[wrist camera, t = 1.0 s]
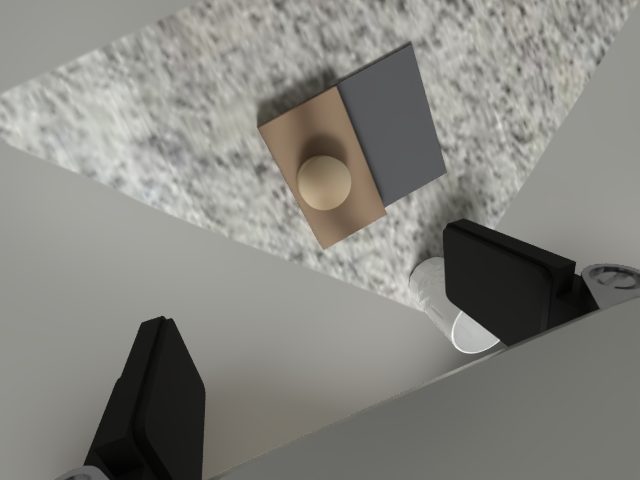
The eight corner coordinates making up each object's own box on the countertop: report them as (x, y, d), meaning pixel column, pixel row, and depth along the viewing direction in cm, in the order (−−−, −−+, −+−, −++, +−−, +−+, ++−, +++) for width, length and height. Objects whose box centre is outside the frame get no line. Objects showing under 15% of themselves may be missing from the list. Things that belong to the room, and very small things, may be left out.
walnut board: (329, 87, 30) (336, 86, 29) (379, 209, 37) (386, 214, 35) (256, 127, 30) (258, 127, 28) (319, 243, 36) (323, 250, 34)
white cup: (465, 256, 43) (527, 294, 34) (443, 306, 45) (497, 354, 36) (416, 248, 40) (470, 287, 31) (396, 301, 42) (441, 352, 34)
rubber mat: (410, 44, 31) (411, 44, 31) (445, 171, 37) (446, 172, 37) (329, 87, 30) (330, 87, 30) (379, 209, 37) (380, 209, 36)
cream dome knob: (332, 145, 31) (338, 147, 29) (351, 189, 33) (358, 194, 31) (286, 170, 30) (290, 173, 28) (309, 213, 32) (314, 219, 31)
